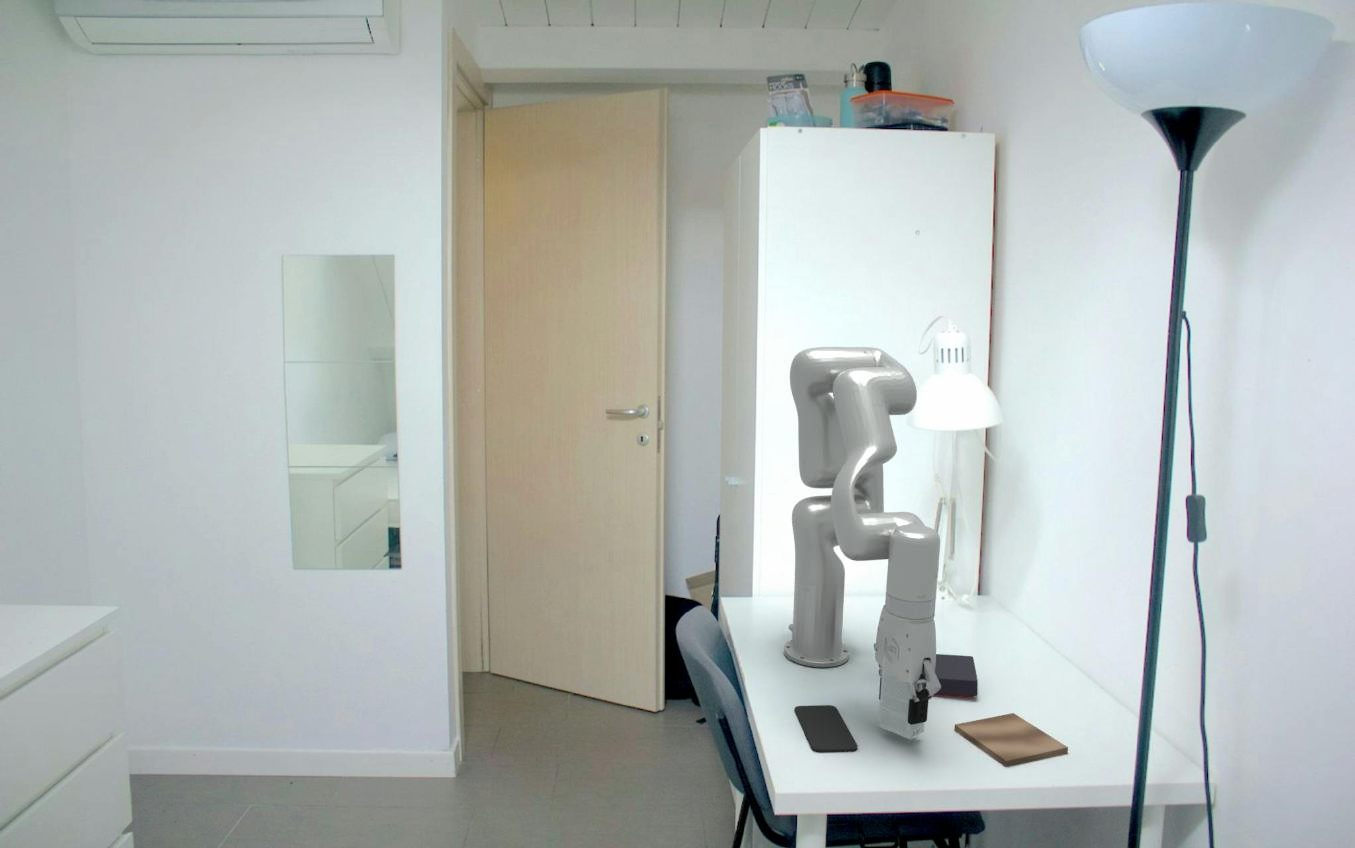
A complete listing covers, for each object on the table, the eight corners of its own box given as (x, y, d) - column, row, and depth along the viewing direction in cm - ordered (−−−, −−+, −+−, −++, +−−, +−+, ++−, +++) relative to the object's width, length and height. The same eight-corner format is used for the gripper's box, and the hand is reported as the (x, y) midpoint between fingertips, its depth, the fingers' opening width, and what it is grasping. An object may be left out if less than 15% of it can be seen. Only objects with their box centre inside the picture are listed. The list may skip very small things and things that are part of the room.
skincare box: (924, 731, 143) (930, 660, 141) (910, 741, 140) (916, 669, 138) (891, 717, 147) (896, 648, 145) (876, 726, 144) (881, 656, 142)
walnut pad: (954, 730, 147) (954, 724, 147) (1013, 718, 151) (1013, 713, 151) (1005, 767, 136) (1006, 761, 136) (1067, 753, 140) (1068, 747, 140)
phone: (835, 704, 154) (860, 748, 139) (835, 709, 154) (859, 753, 140) (792, 705, 154) (812, 750, 139) (792, 710, 154) (812, 755, 139)
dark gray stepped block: (972, 675, 167) (889, 669, 171) (973, 652, 167) (889, 647, 170) (977, 701, 157) (889, 694, 161) (977, 677, 156) (889, 671, 160)
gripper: (858, 588, 147) (852, 690, 150) (924, 629, 131) (915, 742, 134) (897, 583, 149) (890, 683, 152) (966, 622, 133) (957, 733, 137)
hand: (902, 710), depth 143 cm, fingers closed on skincare box, 7 cm apart
